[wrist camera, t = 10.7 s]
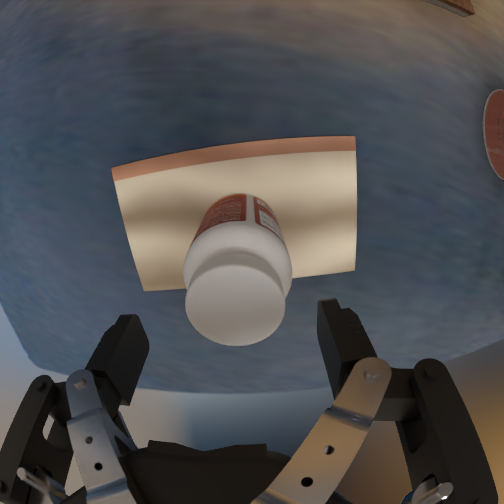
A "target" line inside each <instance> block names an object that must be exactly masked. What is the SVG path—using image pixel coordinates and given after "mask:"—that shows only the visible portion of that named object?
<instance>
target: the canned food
mask: <svg viewBox="0 0 504 504" xmlns="http://www.w3.org/2000/svg"><path fill="white" fill-rule="evenodd" d="M482 129H483V139H484V145H485V150H486V154H487V157H488V160H489V162H490V165H491V167H492V169H493V170H494V172H495V173H496V175H497V176H498V177H499V178H501V179H502V180H504V90H503V89H496V90H494V91H492V92H491V93H490V94H489V96H488V98H487V100H486V102H485V105H484V110H483V119H482Z"/></svg>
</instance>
